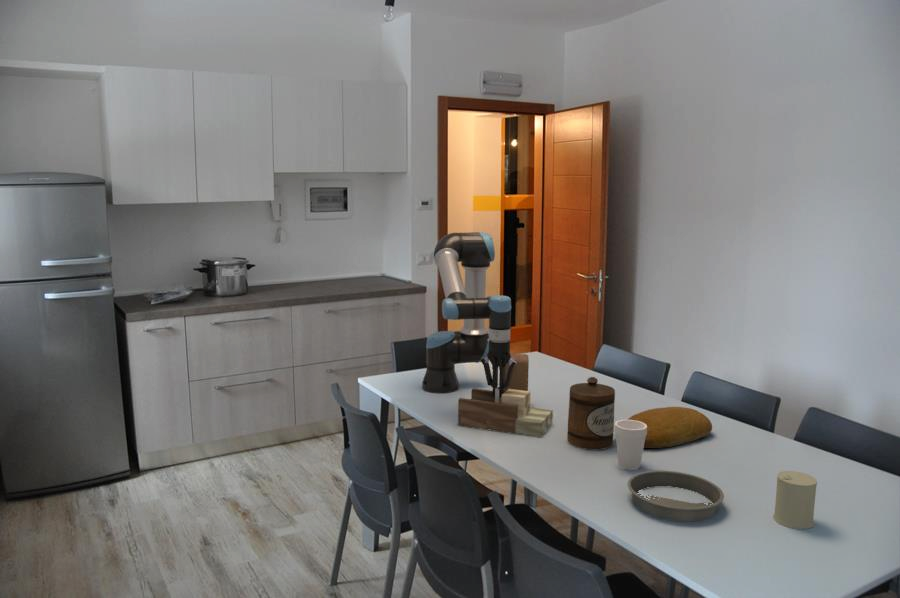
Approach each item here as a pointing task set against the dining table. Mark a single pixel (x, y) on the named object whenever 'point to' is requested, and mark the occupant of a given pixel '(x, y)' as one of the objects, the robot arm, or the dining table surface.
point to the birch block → (518, 400)
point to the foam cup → (630, 442)
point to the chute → (501, 415)
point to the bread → (672, 426)
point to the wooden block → (518, 373)
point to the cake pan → (674, 507)
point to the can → (795, 499)
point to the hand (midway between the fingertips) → (498, 405)
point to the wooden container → (591, 415)
